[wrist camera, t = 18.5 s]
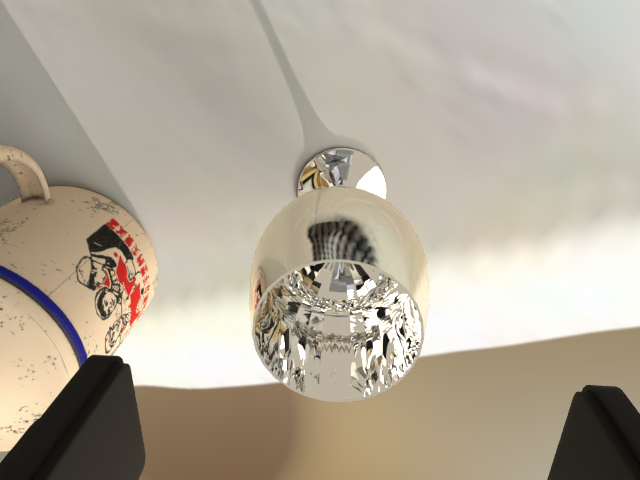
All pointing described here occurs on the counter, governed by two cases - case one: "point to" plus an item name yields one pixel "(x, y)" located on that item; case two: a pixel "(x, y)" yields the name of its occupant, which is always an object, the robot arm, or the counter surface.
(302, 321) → the wineglass
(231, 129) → the counter surface
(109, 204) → the teacup with lid
